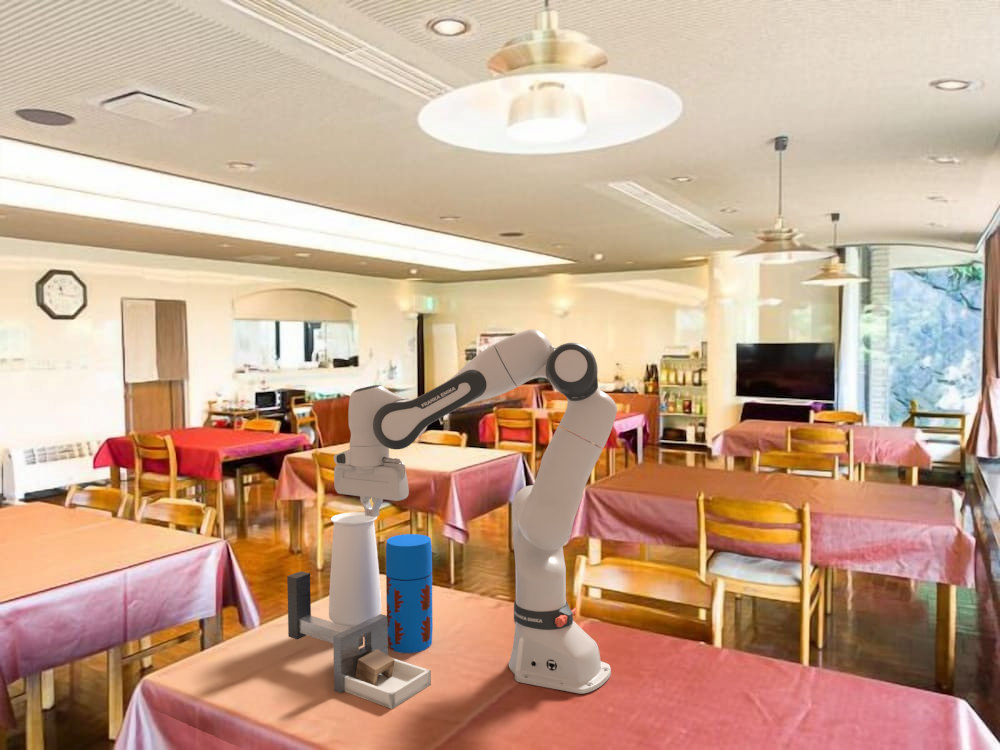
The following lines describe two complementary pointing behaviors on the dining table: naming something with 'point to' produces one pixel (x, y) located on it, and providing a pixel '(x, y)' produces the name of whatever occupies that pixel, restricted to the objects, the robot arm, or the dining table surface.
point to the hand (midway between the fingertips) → (372, 515)
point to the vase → (354, 570)
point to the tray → (391, 685)
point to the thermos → (409, 592)
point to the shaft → (308, 612)
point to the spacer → (374, 666)
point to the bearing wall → (357, 647)
